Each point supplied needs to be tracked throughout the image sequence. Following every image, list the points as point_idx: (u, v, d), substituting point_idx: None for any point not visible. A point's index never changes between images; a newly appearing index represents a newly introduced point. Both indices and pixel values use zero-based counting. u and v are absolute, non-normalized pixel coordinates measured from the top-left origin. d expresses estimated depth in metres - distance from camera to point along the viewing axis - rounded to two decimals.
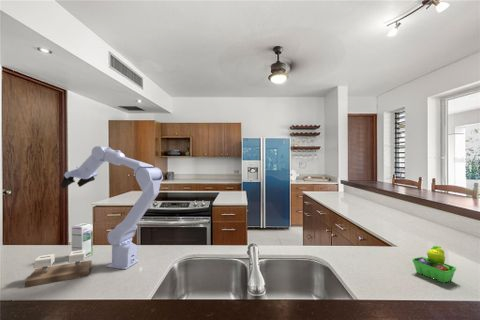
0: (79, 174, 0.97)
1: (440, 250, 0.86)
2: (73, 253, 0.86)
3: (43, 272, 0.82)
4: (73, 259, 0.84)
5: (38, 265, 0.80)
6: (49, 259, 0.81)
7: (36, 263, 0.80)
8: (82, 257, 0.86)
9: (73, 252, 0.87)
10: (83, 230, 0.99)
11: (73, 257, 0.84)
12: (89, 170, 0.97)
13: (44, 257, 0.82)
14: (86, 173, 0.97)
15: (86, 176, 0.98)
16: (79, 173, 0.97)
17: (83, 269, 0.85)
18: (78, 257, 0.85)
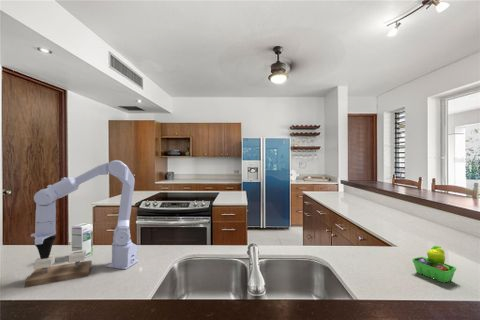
0: (46, 233, 0.81)
1: (440, 250, 0.86)
2: (73, 253, 0.86)
3: (43, 272, 0.82)
4: (73, 259, 0.84)
5: (38, 266, 0.80)
6: (49, 260, 0.81)
7: (36, 264, 0.80)
8: (82, 257, 0.86)
9: (73, 252, 0.87)
10: (83, 230, 0.99)
11: (73, 257, 0.84)
12: (52, 220, 0.82)
13: (44, 258, 0.82)
14: (52, 226, 0.82)
15: (54, 230, 0.83)
16: (45, 233, 0.80)
17: (83, 269, 0.85)
18: (78, 257, 0.85)
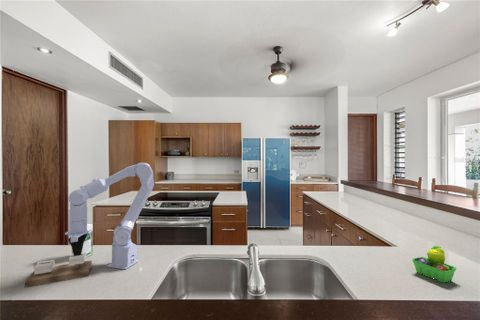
0: (79, 232, 0.85)
1: (440, 250, 0.86)
2: (73, 256, 0.86)
3: None
4: (73, 262, 0.84)
5: (38, 272, 0.80)
6: (49, 265, 0.81)
7: (36, 269, 0.80)
8: (82, 260, 0.86)
9: (73, 254, 0.87)
10: None
11: (73, 260, 0.84)
12: (84, 219, 0.87)
13: (44, 263, 0.82)
14: (84, 225, 0.87)
15: (86, 228, 0.88)
16: (78, 231, 0.85)
17: (83, 269, 0.85)
18: (78, 260, 0.85)
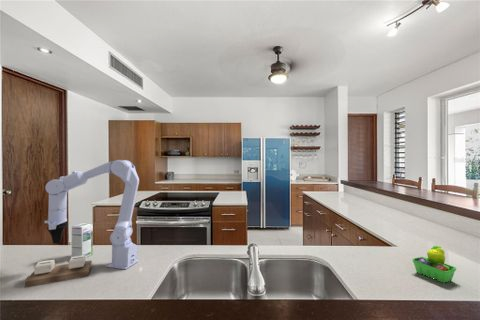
0: (58, 220, 0.88)
1: (440, 250, 0.86)
2: (73, 259, 0.86)
3: None
4: (73, 265, 0.84)
5: (38, 272, 0.80)
6: (49, 265, 0.81)
7: (36, 269, 0.80)
8: (82, 263, 0.86)
9: (73, 258, 0.87)
10: (83, 230, 0.99)
11: (73, 263, 0.84)
12: (64, 209, 0.90)
13: (44, 263, 0.82)
14: (63, 214, 0.90)
15: (65, 217, 0.91)
16: (57, 219, 0.88)
17: (83, 269, 0.85)
18: (78, 263, 0.85)
